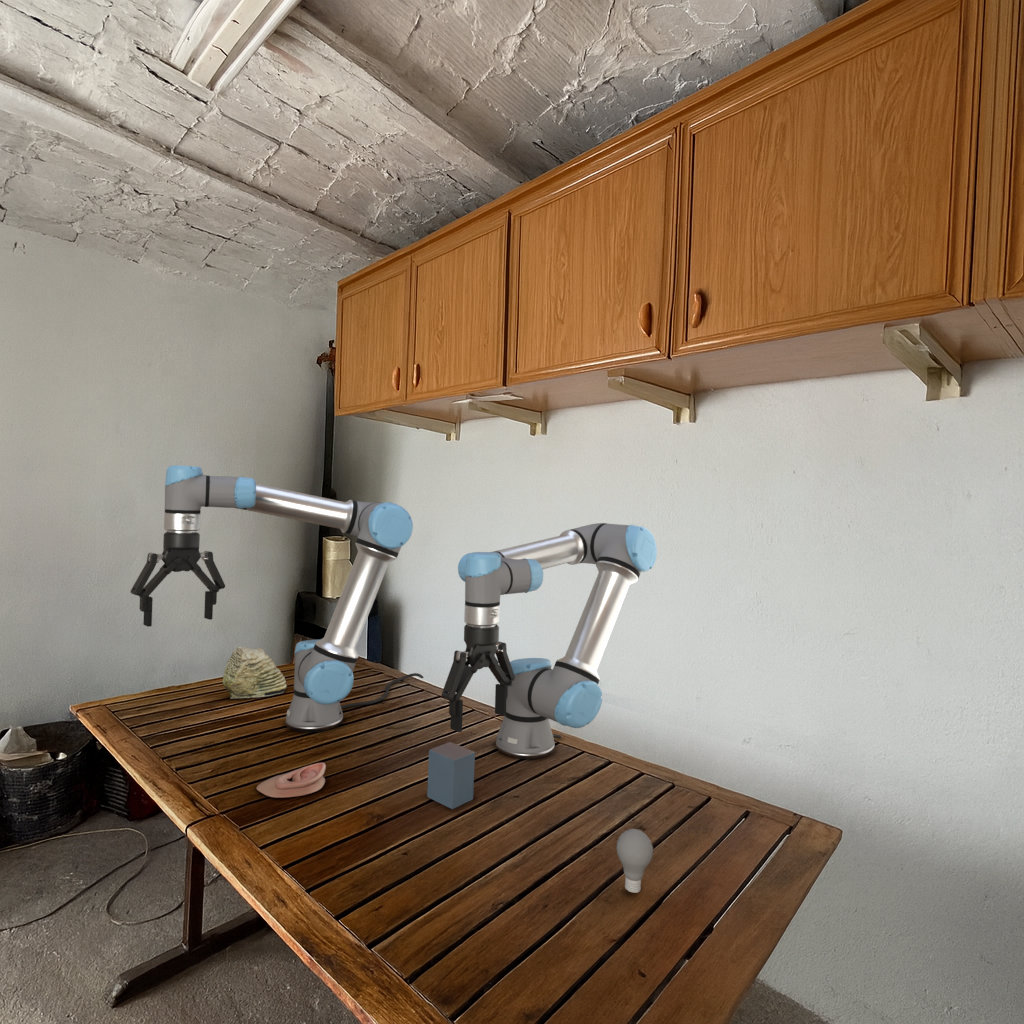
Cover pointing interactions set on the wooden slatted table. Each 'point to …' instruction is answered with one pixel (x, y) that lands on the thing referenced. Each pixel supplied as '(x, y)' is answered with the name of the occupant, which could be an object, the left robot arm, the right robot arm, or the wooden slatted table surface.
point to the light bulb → (634, 857)
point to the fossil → (252, 674)
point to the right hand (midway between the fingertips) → (479, 722)
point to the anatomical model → (295, 782)
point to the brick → (451, 775)
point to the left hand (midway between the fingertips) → (178, 622)
